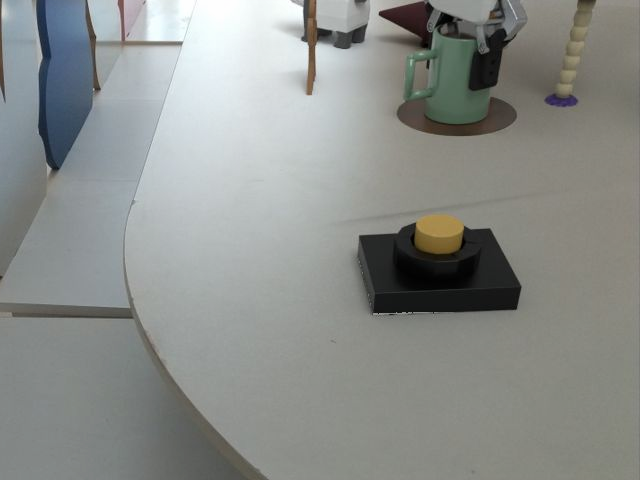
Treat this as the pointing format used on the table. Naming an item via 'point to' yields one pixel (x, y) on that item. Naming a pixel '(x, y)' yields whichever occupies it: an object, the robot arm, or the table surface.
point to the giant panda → (338, 19)
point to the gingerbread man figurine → (311, 45)
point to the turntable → (455, 124)
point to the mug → (449, 76)
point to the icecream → (410, 19)
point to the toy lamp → (572, 56)
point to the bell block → (437, 274)
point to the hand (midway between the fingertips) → (460, 76)
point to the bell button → (438, 234)
